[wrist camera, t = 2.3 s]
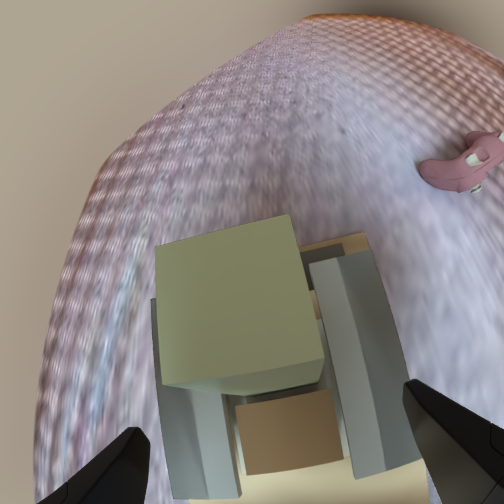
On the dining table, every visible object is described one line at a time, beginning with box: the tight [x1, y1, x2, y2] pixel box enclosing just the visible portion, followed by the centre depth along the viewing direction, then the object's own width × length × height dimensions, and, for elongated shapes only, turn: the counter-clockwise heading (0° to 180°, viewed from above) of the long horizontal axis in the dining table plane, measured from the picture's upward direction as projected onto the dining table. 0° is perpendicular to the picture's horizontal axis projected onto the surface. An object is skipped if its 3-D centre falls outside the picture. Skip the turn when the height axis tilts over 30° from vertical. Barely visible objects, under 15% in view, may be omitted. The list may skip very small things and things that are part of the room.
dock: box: [151, 249, 422, 500], centre depth 16 cm, size 12×13×6 cm
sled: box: [155, 214, 350, 476], centre depth 12 cm, size 9×7×13 cm
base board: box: [188, 232, 430, 504], centre depth 17 cm, size 27×16×1 cm, turn 9°
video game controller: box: [419, 131, 504, 194], centre depth 22 cm, size 10×5×7 cm, turn 118°
